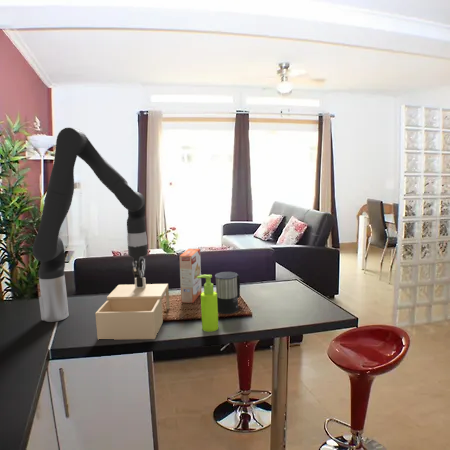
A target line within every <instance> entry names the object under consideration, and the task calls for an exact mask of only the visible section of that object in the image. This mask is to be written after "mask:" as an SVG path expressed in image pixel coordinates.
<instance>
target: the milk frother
mask: <svg viewBox="0 0 450 450" xmlns="http://www.w3.org/2000/svg"><path fill="white" fill-rule="evenodd" d="M214 277H215V290H216V291H215V292H216V293H217V304H218V314H219V313H220V314H223V315H230V314H235V313H238V311H239V309H240V307H239V301H238V300H239V299H240V296H241V278H240V275H239V274H238V273H237V272H234V271H221V272H216V273H215V275H214Z"/></svg>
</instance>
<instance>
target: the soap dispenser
mask: <svg viewBox="0 0 450 450" xmlns="http://www.w3.org/2000/svg"><path fill="white" fill-rule="evenodd" d="M197 278H198V279H199V278H201V279H205V283H204V284H203V291H201V294H200V307H201V309H200V311H201V328H202V329H201V330H202V331H204V332H208V333H210V332H212V333H213V332H216V331H217V330H218V329H219V312H218V304H217V293H216V291H215V290H214V283H212V282H211V281H212V279H211V278H213V275H212V274H201V275H199V276H197Z"/></svg>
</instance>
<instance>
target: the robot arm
mask: <svg viewBox="0 0 450 450" xmlns="http://www.w3.org/2000/svg"><path fill="white" fill-rule="evenodd" d="M77 157H78V158H79V159H81V160H82V161H83V162H84V163H85V164H87V166H88V167H89V168H90V169H91V170H92V172H93V173H94V175H95V176H96V177H97V179H98V180H99V181H100V182H101V183H102V184H103V185H104V186H105V187H106V188H107V189H108V191H110V192H111V193H112V194H113V195H114V196H115V197H116V199H117V200H118V201H119V202H120V204H121V205H122V206H123V208H124V209H126V210H127V215H128V216H127V219H126V233H127V234H126V238H127V251H128V252H127V254H128V256H129V257H130V258H133V261H132V266H131V267H130V268H131V271H132V274H133V277H134V279H135V278H136V280H137V287H142V286H143V280H142V277H144V276H145V273H146V263H147V262H146V261H147V259H146V258H145V256H148V254H149V249H148V237H147V230H146V221H145V220H146V217H145V216H146V199H145V196H144V195H143V193H141V192H140V191H139V192H138V191H135V190H134V189H133V188H131V186H129V184H128V181H127V180H126V178H124V177H123V176H122V175H121V174H120V173H119V171H118V170H117V169H115V168H114V167H113V166H112V165H111V163H109V162H108V161H107V160H106V159H105V158H104V157H103V156H102V155H101V153H99V151H98V149H96V148H95V146H94V145H93V144H92V142H91V141H90V139H89V138H88V137H87V135H86V134H85V133H84V132H83V131H82V130H80V129H78V128H74V127H64V128H63V129H60V131H59V132H58V135H57V136H56V142H55V150H54V161H53V165H52V169H51V172H50V176H49V182H48V185H47V188H46V193H45V197H44V203H43V207H42V213H41V220H40V223H39V228H38V230H37V233H36V236H35V238H34V241H33V246H32V253H33V256H34V258H35V259H36V260H37V261H39V262H40V267H39V269H38V273H37V274H38V281H39V282H38V283H39V289H40V296H39V297H38V302H39V309H40V310H39V311H40V317H41V321H44V322H47V323H53V322H59V321H63V320H65V319H67V318H68V317H69V313H70V312H69V307H68V306H69V305H68V304H69V303H68V294H67V286H66V277H65V276H66V275H65V267H66V258H65V256H66V255H65V247H64V242H63V240H62V239H61V238H60V231H61V228H62V225H63V223H64V221H65V219H66V217H67V215H68V213H69V210H70V208H71V205H72V202H73V197H74V193H75V176H74V175H75V173H74V171H75V170H74V169H75V165H76V161H77Z"/></svg>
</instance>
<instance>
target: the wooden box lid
mask: <svg viewBox="0 0 450 450" xmlns="http://www.w3.org/2000/svg"><path fill="white" fill-rule="evenodd" d="M142 280H143V286H142V287H137V280H136V278H134V284H133V283H132V284H118V285H117V286H115V288H114V289H113V290H112V291H111V292H110V293H109V294H108V295H107V296H106V299H107V300H108V299H142V298H162V296H163V294H164V292H165V290H166V289H167V287H168V288H169V283H152V284H151V283H146V277H144V276H143V277H142ZM164 295H165V294H164ZM163 297H164V296H163ZM162 299H163V298H162Z"/></svg>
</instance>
